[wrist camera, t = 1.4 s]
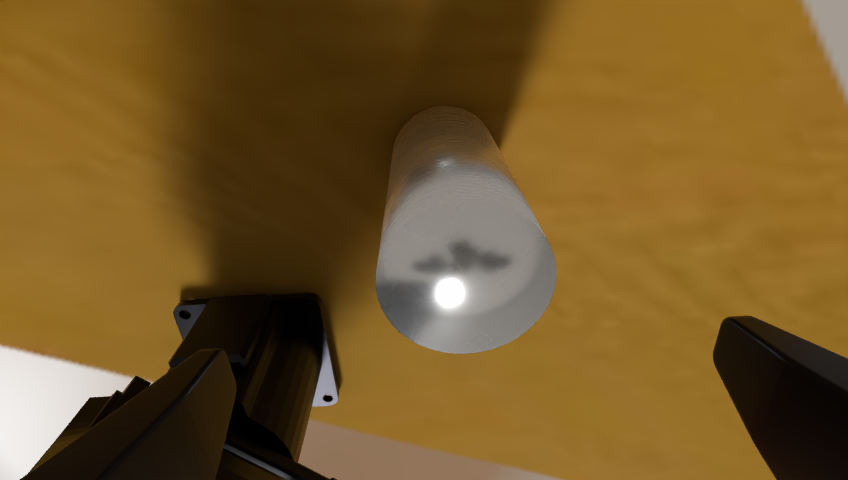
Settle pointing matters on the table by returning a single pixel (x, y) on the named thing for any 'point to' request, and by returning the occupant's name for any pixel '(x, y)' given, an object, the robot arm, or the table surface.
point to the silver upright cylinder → (459, 239)
